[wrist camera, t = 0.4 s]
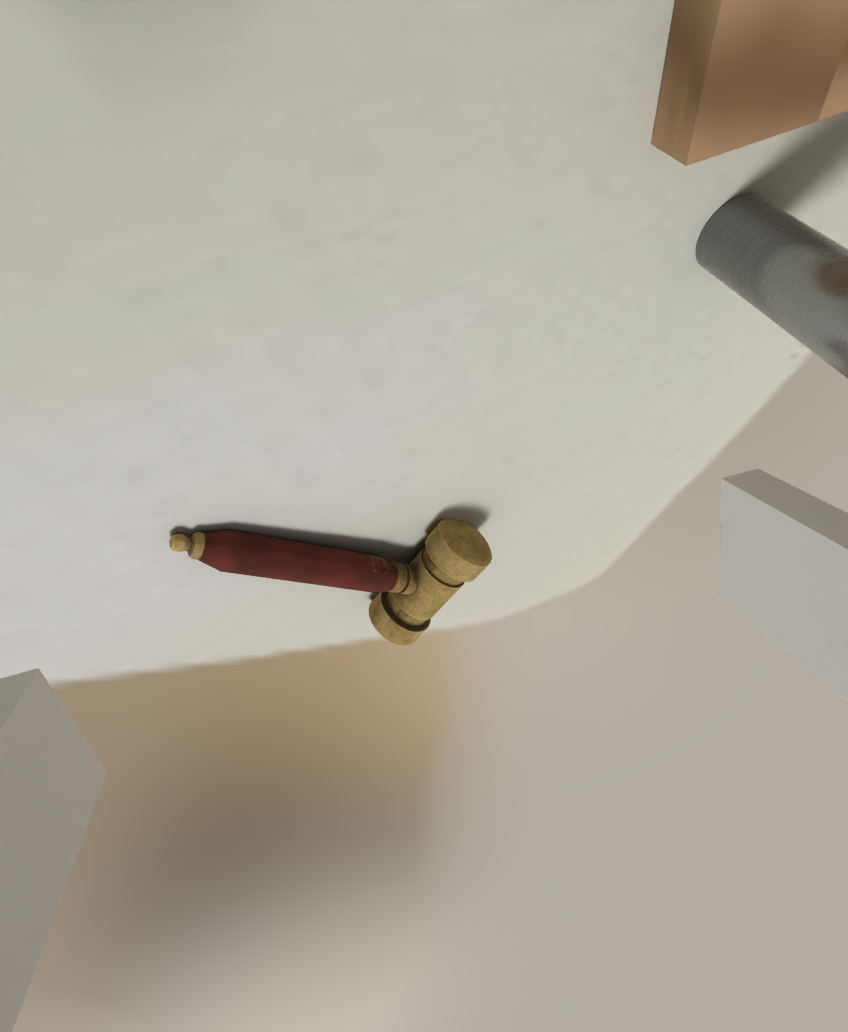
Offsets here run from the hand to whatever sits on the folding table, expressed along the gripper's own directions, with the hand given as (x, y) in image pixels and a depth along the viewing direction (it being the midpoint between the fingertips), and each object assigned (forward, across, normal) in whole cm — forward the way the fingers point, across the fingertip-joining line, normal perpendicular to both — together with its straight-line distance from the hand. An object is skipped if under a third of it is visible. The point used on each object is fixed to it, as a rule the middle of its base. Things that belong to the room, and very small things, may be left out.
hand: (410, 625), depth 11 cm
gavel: (+27, -4, -12) cm, 30 cm away
